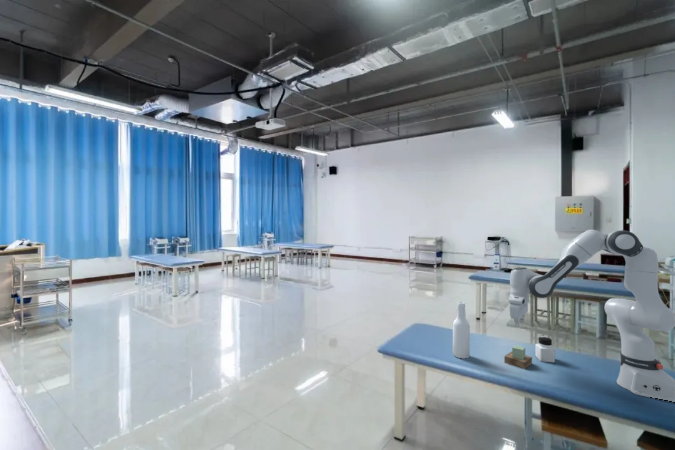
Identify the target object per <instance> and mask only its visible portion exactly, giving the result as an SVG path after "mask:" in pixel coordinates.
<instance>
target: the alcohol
mask: <svg viewBox="0 0 675 450" xmlns="http://www.w3.org/2000/svg"><path fill="white" fill-rule="evenodd" d="M456 313H457V314H456V317H455V319H454V320H453V323H452V354H453V356H454V357H455V356H456V357H455V358H457V357H458V358H457V359H460V358H462V359H461V360H463V359H464V360H466V359H465V358H467V359H469V357H471V356H470V355H471V354H470V352H471V351H470V350H471V349H470V346H471V345H470V341H471V338H470V336H471V335H470V334H471V333H470V332H471V330H470V329H471V326H470V323H469V321H468V320H467V317H466V316H467V315H466V302H464V301H457V311H456Z"/></svg>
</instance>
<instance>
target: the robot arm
mask: <svg viewBox="0 0 675 450" xmlns="http://www.w3.org/2000/svg"><path fill="white" fill-rule="evenodd" d="M600 251H605V252H606V253H610V254H613V255H621V256H623V258H624V261H625V265H624V266H625V267H624V278H623V286H624V288H625V289H626V290H627V291H629V292H630V293H632V294H633V296H634V298H635V300H632V299H627V298H621V297H617V298H616V297H612V298H609V299H608V300H606V302H605V303H604V306H603V307H604V312H605V314H606V315H607V317H608V318H610V320H611V321H613V324H615V327H616V328H617V330H618V332H619V335H620V342H621V343H620V344H621V345H620V346H621V349H620V350H621V351H620V353H619V365H620V369H619V373H618V376H617V379H616V384H617V385H619V386H620V387H622V388H624V389H626V390H628V391H629V392H631V393H633V394H634V395H637V396H642V397H646V398H650V397H652V398H651V399H655V398H658V399H657V400H659V399H663V400H662V401H664V400H668V401H667V402H669V401H672V402H671V403H673V402H675V378H674V377H672V376H671V375H669V374H668V373H667V372H666V371H665V370H663V369H664V366H663V364H662V362H661V361H660V360H657V359H656V358H655V357H656V356H655V353H656V351H655V348H656V347H655V342H654V340H653V339H652V338H651V337H650V336H649V335H648V334H647V333H646V332H644V330H643V329H644V328H645V329H647V330H651V331H659V332H669V331H672V330H673V329H674V328H675V313H674V312H673V311H672V310H671V309H670V308H669V307H668V306H667V305H666V304H665V303H664V301H663V300H662V298H661V296H660V293H659V286H658V285H659V284H658V283H659V282H658V280H659V260H658V254H657V252H656V251H655V250H654V249H652V248H649V247H645V246H643V244H642V242H641V241H640V239H639V237H638V236H637V235H636V234H635V233H633V232H631V231H629V230H625V229H624V230H622V229H621V230H616V231H615V230H614V231H611V232H609V233H606V234H605V233H602V232H601V231H599V230H596V229H587V230H585V231H583V232H582V233H580V234H579V235H577V236H575V237H574V238H573V239H572V240H570V241H569V242H568V243H567V244H566V246H564V247H563V249H562V250H561V252H560V253H561V254H560V257H559V260H558V262H557V263H556V264H555V265H554V266H553V267H552V268H550V269H549V270H548V271H547V272H546V273H545V274H543V275H542V274H539V273H537V272H534V271H532V270H530V269H529V268H527V267H515V268H513V269H512V270H511V271H510V275H509V285H510V290H509V297H508V301H507V302H508V304H509V316H510V318H511V319H513V322H514V326H515V327H519V326H520V323H524V322H525V315H526V314H527V313H528V310H529V309H528V307H529V306H528V303H530V294H531V295H532V296H534V297H535V298H539V299H545V298H549V297H550V296H551V295H552V294H553V293H554V289H555V288H556V287H557V285H558V284H559V283H560V282H561V281H562V280H563V279H564V278H566V276H568V275H569V274H571V272H572V271H574V270H575V269H577V268H578V267H579V266H581V265H582V264H584V263H586V262H587V261H589V259H591V258H592V257H594V255H595V254H597V253H598V252H600Z"/></svg>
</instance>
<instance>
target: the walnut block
mask: <svg viewBox="0 0 675 450" xmlns="http://www.w3.org/2000/svg"><path fill="white" fill-rule="evenodd" d="M503 357H504V364H508V365H511V366H513V367H516V368H519V369H523V370H526V369H527V368H528V367H529V366H531V365H532V364H533V357H532V356H530V355H526V354H525V358H524V359H523V360H522V359H518V358H515V357H512V351H510V352H508V353H507V354H505V355H504V356H503Z"/></svg>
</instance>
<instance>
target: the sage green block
mask: <svg viewBox="0 0 675 450" xmlns="http://www.w3.org/2000/svg"><path fill="white" fill-rule="evenodd" d="M511 352H512V357H515V358H518V359H522V360H523V359H524V358H525V355H526V346H521V345H517V344H514V345H513V346H512V351H511Z"/></svg>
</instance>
